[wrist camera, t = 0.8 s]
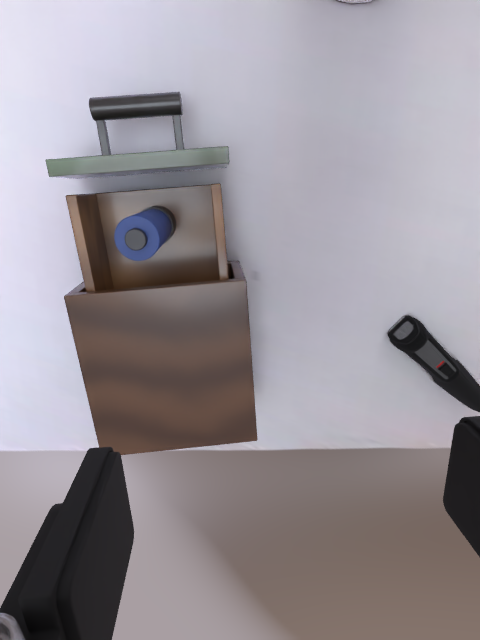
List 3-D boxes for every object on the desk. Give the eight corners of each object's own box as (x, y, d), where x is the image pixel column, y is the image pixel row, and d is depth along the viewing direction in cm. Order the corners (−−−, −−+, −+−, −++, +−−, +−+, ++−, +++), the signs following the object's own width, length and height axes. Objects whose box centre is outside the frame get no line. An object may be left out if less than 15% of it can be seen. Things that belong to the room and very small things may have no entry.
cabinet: (94, 273, 39) (63, 296, 31) (239, 260, 40) (246, 280, 31) (122, 406, 44) (101, 457, 36) (249, 394, 45) (257, 440, 37)
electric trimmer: (461, 409, 48) (478, 424, 45) (383, 335, 44) (396, 346, 41) (485, 389, 47) (504, 402, 44) (408, 311, 43) (423, 320, 40)
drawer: (65, 110, 33) (30, 92, 27) (220, 99, 34) (222, 79, 27) (106, 316, 40) (85, 341, 33) (237, 304, 40) (241, 326, 34)
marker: (138, 207, 35) (104, 215, 24) (173, 204, 36) (156, 211, 25) (143, 243, 36) (114, 267, 26) (178, 240, 37) (164, 262, 26)
